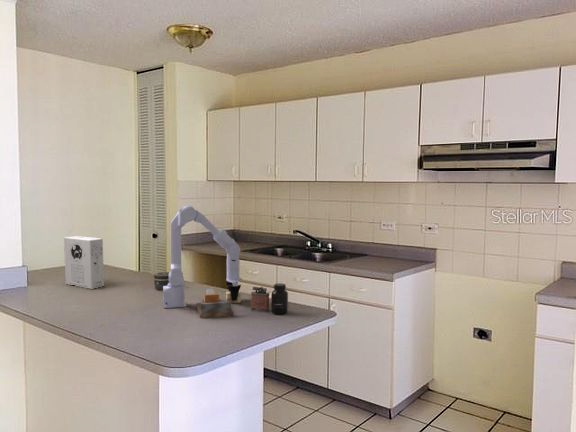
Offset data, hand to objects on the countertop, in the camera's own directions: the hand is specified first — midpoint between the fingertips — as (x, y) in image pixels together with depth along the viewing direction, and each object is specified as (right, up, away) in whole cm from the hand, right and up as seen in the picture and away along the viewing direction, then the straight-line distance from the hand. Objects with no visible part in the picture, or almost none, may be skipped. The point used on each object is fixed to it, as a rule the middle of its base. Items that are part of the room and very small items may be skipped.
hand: (233, 298), depth 220 cm
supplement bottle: (+21, -3, -18) cm, 28 cm away
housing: (0, -2, 0) cm, 2 cm away
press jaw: (-10, 0, -2) cm, 10 cm away
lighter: (+13, -3, -14) cm, 19 cm away
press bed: (-8, -2, -9) cm, 12 cm away
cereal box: (-81, +1, +33) cm, 87 cm away
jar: (-38, 0, +27) cm, 46 cm away
